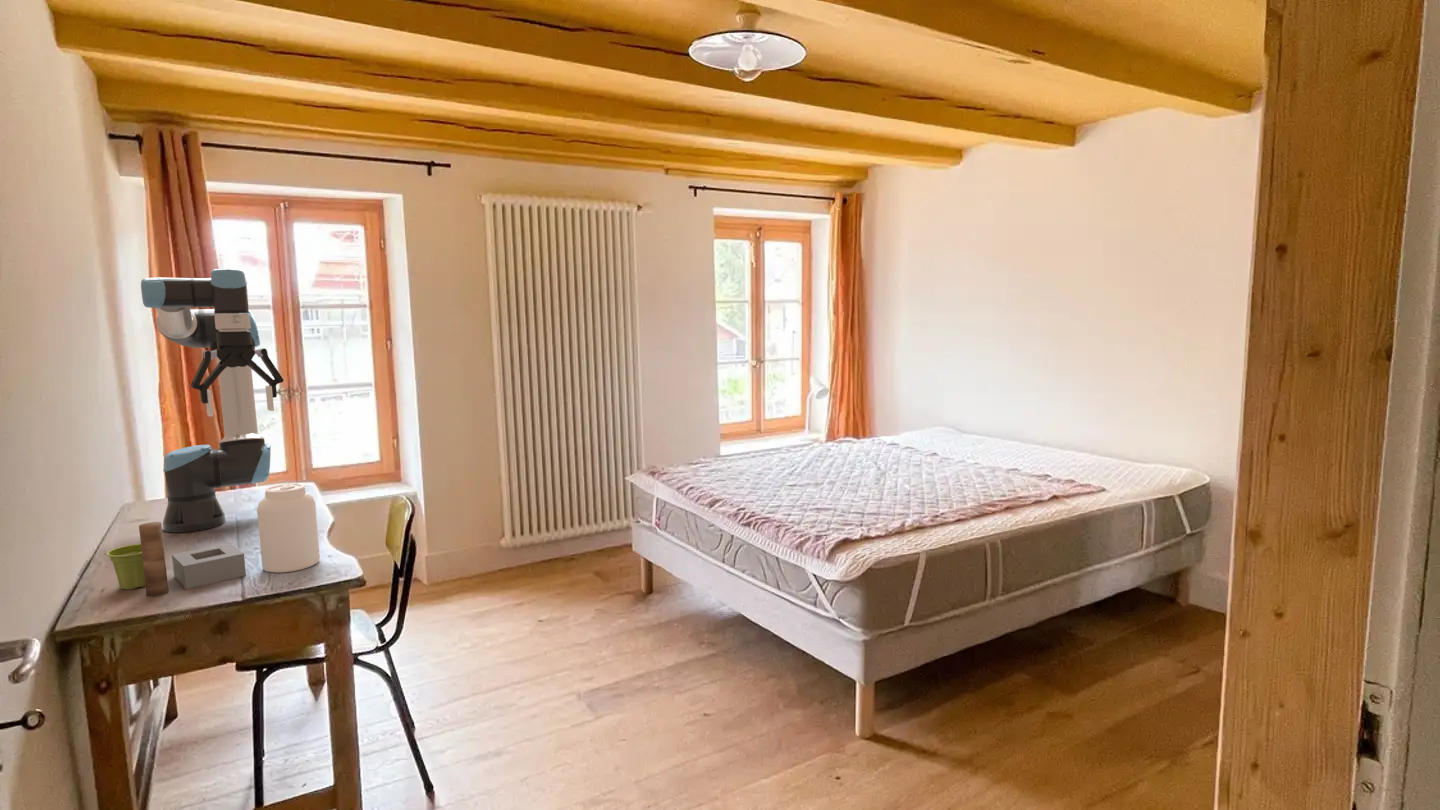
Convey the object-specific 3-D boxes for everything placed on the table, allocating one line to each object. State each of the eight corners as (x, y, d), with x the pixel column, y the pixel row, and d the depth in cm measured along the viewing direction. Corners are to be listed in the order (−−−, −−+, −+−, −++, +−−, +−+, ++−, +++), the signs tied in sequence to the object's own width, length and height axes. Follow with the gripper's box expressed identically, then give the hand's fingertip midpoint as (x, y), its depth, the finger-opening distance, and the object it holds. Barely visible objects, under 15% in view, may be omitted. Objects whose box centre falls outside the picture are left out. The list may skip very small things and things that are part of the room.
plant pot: (129, 578, 179) (125, 543, 178) (171, 577, 180) (167, 542, 179) (100, 593, 170) (96, 556, 169) (145, 591, 171) (140, 554, 170)
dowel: (144, 593, 170) (137, 524, 168) (166, 588, 173) (159, 520, 171) (148, 598, 167) (140, 528, 165) (170, 593, 170) (163, 524, 168)
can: (282, 556, 194) (275, 480, 192) (330, 556, 194) (324, 480, 191) (251, 574, 182) (243, 493, 179) (301, 574, 181) (294, 492, 179)
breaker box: (174, 576, 180) (171, 554, 180) (232, 564, 189) (230, 542, 188) (186, 589, 172) (183, 566, 171) (246, 575, 181) (243, 553, 180)
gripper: (177, 332, 180) (186, 420, 183) (292, 329, 198) (299, 409, 201) (170, 331, 185) (179, 417, 188) (283, 328, 203) (289, 406, 206)
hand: (241, 413), depth 195 cm, fingers open, 13 cm apart
